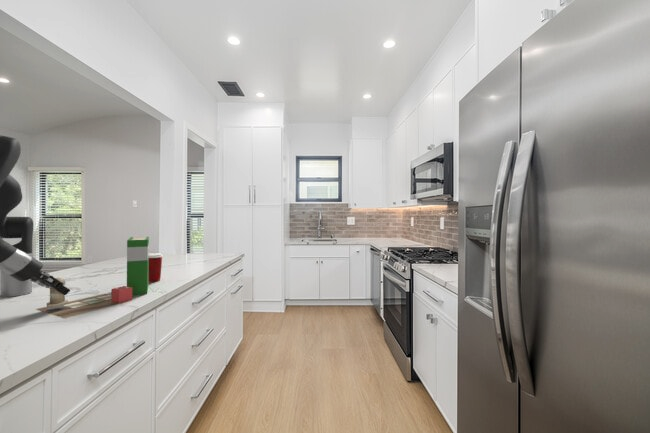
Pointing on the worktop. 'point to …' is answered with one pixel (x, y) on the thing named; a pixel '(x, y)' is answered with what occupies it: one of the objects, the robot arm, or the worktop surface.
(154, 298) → the worktop surface
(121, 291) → the red die
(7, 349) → the worktop surface
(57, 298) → the birch pawn
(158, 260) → the paper cup
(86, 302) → the game board
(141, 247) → the hardback book
